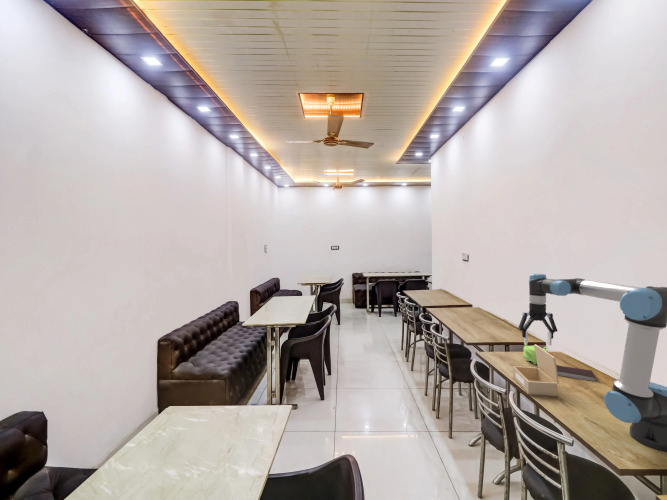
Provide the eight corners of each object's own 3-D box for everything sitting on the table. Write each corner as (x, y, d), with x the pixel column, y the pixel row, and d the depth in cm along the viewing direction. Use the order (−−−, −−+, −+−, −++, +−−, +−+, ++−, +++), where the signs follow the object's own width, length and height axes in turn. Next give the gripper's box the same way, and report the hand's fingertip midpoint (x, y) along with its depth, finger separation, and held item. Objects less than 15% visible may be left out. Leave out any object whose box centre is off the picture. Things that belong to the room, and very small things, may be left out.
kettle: (523, 357, 228) (523, 341, 228) (547, 360, 221) (547, 344, 220) (522, 363, 216) (522, 347, 215) (547, 368, 208) (548, 350, 208)
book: (554, 368, 207) (554, 363, 207) (591, 374, 198) (591, 369, 198) (556, 376, 196) (556, 370, 196) (596, 382, 187) (596, 376, 187)
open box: (557, 396, 169) (557, 383, 169) (528, 394, 172) (528, 381, 171) (538, 379, 191) (538, 367, 191) (512, 377, 193) (512, 366, 193)
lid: (557, 382, 169) (559, 382, 168) (553, 357, 169) (555, 357, 169) (537, 366, 191) (539, 366, 191) (534, 344, 191) (535, 344, 191)
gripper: (558, 302, 171) (558, 342, 171) (511, 301, 175) (511, 340, 175) (565, 304, 163) (565, 347, 164) (516, 303, 168) (516, 345, 168)
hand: (537, 344), depth 169 cm, fingers open, 11 cm apart
